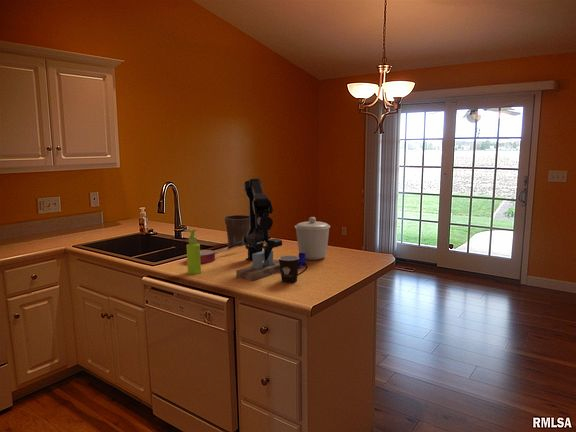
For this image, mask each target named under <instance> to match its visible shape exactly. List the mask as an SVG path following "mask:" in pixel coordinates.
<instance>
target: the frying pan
mask: <svg viewBox="0 0 576 432" xmlns="http://www.w3.org/2000/svg"><path fill="white" fill-rule="evenodd" d="M242 243H243V242H242V241H240V242H237V243H235V244H232V245H228V246H226V247H225V248H221V249H220V250H216V251H215V250H213V249H200V260H201V265H203V264H210V263H212V262H215V260H216V255H218V254H220V253H221V252H224V251H227V250H230V249H232V248H235V247H237V245H240V244H242ZM240 246H241V245H240Z"/></svg>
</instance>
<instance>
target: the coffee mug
mask: <svg viewBox="0 0 576 432" xmlns="http://www.w3.org/2000/svg"><path fill="white" fill-rule="evenodd" d="M298 256H299V255H298ZM298 256H297V255H282V256H279V257H278V260H279V264H280V276H281V277H280V279H281V282H282V283H284V284H294V283H297V281H298V277H299V275H301V274H303V273H304V272H306V270H308V263H307V262H306V263H305V262H299V257H298ZM301 263H304V264H305V269H304V270H301V272H299V269H298V267H299V265H300V264H301Z"/></svg>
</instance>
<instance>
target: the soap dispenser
mask: <svg viewBox="0 0 576 432" xmlns="http://www.w3.org/2000/svg"><path fill="white" fill-rule="evenodd" d="M182 232H183V233H188V232H190V236H189V237H188V243H187V244H186V246H185V247H186V262H187V274H188V275H199V274H201V273H202V264H201V260H200V250H201V244H200V243H198V241H197V236H196V235H195V232H197V230H196V229H191V228H190V229H186V230H185V229H184V230H183V231H182Z"/></svg>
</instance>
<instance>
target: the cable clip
mask: <svg viewBox="0 0 576 432" xmlns="http://www.w3.org/2000/svg"><path fill="white" fill-rule="evenodd" d="M298 257H299V262H305V263H306V264H307V261H306V260H307V259H306V253H299V252H298ZM302 267H306V265H305V264H304V263H301V264H300V265H299V267H298V270H301V269H302Z"/></svg>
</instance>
